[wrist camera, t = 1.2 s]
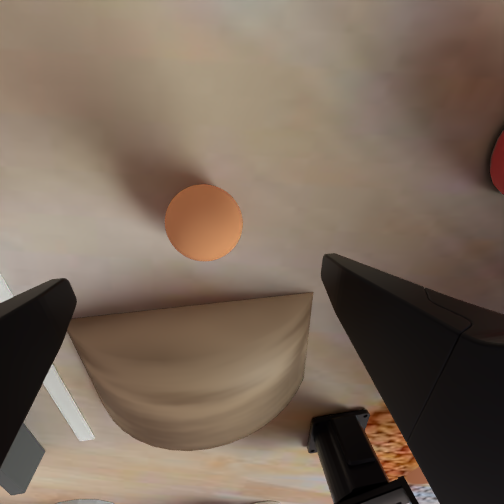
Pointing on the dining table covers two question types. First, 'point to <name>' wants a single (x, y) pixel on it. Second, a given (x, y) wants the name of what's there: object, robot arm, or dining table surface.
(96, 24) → the dining table surface
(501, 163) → the beer can
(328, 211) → the dining table surface
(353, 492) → the robot arm
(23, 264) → the dining table surface
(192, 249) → the ball
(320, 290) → the dining table surface
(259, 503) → the mug
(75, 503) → the french press
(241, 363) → the hump
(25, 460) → the bar
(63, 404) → the line
